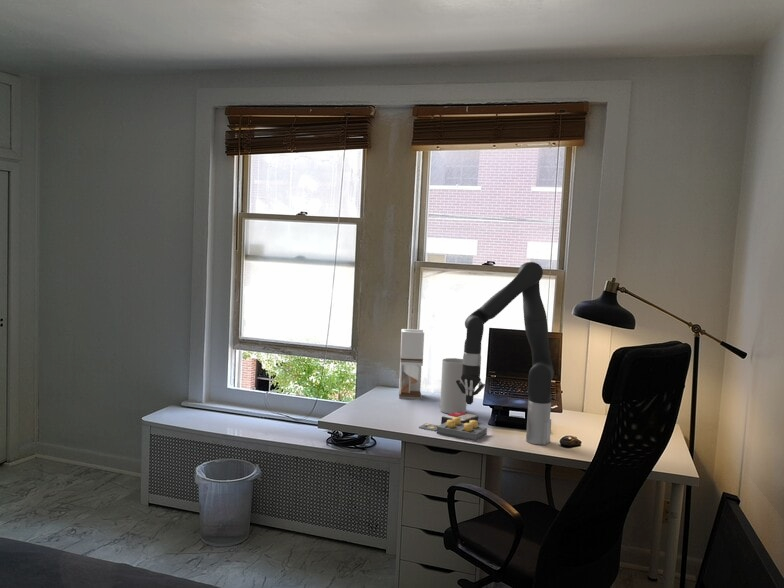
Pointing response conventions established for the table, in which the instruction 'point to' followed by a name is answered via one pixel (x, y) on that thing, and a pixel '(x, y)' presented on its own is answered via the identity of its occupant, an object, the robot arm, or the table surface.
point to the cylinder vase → (452, 387)
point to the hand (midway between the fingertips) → (469, 403)
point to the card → (429, 427)
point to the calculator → (464, 417)
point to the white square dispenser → (411, 363)
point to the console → (462, 432)
